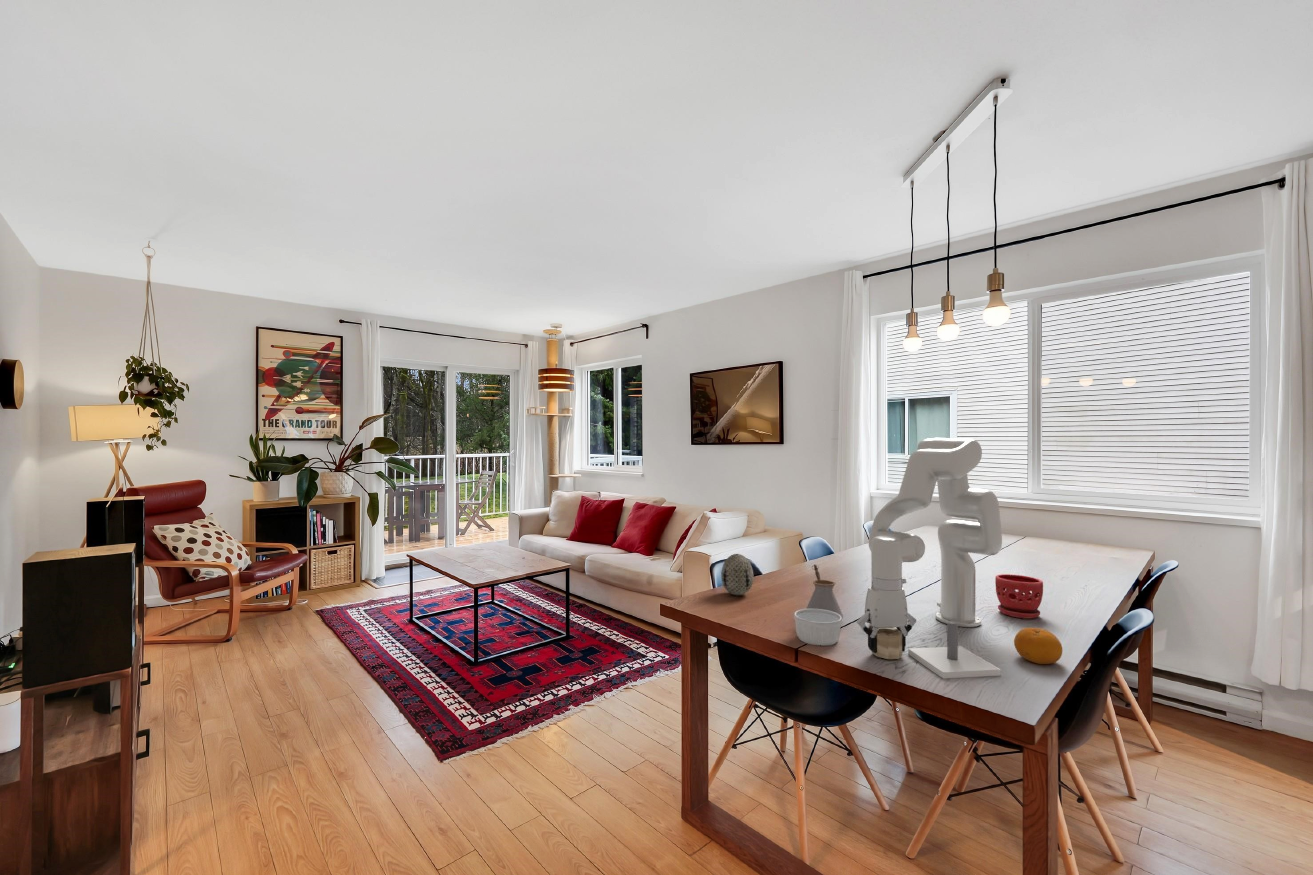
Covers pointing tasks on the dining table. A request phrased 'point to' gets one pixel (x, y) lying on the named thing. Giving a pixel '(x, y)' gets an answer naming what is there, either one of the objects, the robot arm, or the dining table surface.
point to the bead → (889, 643)
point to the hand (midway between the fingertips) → (886, 649)
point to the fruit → (1038, 645)
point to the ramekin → (818, 626)
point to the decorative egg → (737, 574)
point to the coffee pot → (823, 595)
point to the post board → (953, 659)
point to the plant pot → (1019, 595)
